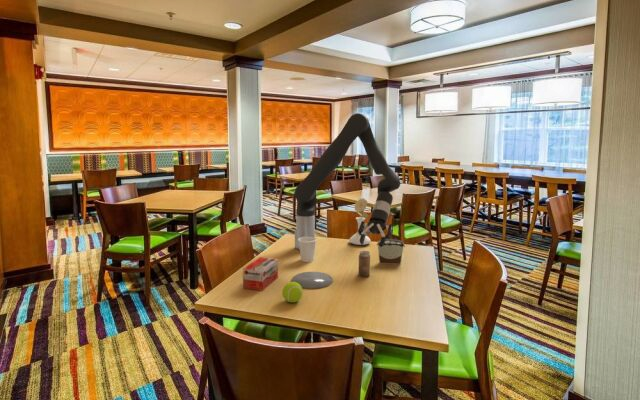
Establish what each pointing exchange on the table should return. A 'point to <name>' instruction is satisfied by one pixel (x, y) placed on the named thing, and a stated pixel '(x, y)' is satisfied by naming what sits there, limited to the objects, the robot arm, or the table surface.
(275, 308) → the table surface
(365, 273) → the pepper mill
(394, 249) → the food container
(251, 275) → the medicine box
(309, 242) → the dixie cup
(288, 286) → the tennis ball
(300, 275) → the trivet
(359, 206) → the flower in vase
